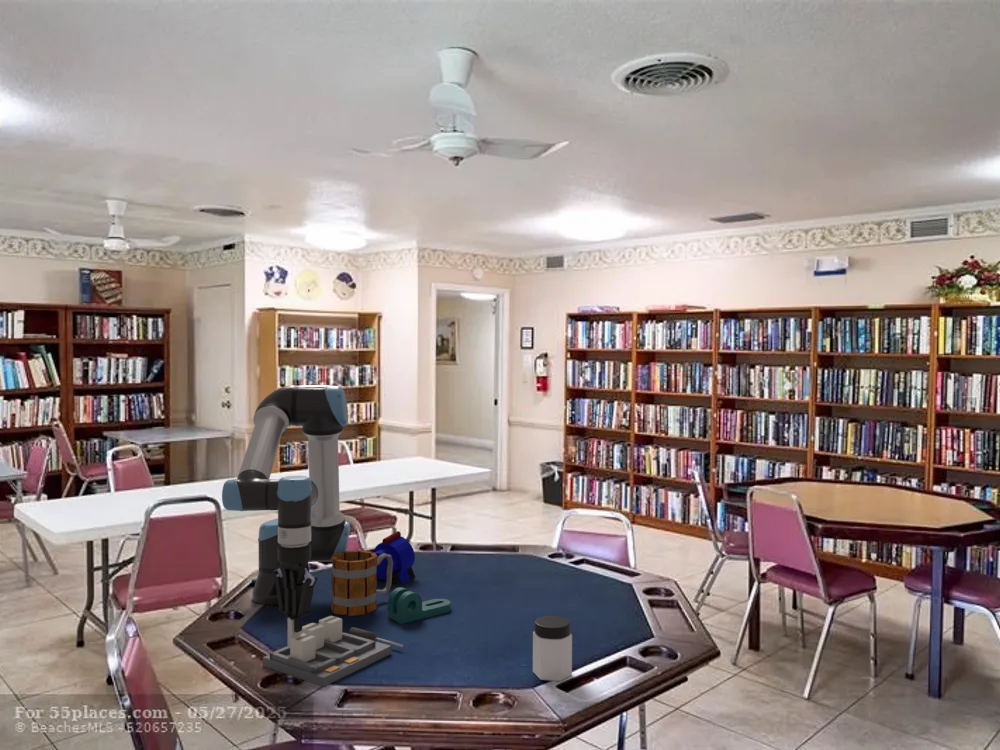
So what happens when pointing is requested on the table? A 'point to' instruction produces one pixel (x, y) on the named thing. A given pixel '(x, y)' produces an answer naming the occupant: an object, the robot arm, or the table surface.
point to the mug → (357, 582)
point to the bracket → (413, 606)
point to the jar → (552, 648)
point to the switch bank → (329, 659)
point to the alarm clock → (396, 558)
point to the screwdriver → (370, 636)
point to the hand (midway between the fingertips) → (294, 644)
